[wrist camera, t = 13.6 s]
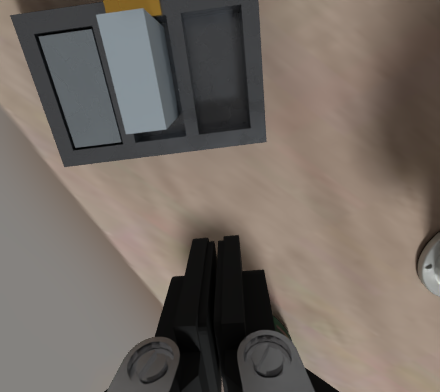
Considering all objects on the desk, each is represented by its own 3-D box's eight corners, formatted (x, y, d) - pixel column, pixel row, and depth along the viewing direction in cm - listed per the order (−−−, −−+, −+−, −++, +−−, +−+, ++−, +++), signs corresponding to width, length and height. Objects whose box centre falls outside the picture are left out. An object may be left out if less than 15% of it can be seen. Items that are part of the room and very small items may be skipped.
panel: (163, 27, 26) (143, 8, 19) (179, 115, 29) (166, 129, 22) (129, 31, 26) (96, 14, 19) (148, 119, 29) (125, 134, 22)
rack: (251, -13, 25) (257, -27, 22) (261, 134, 31) (267, 142, 27) (34, 19, 26) (5, 10, 22) (80, 157, 31) (62, 168, 28)
